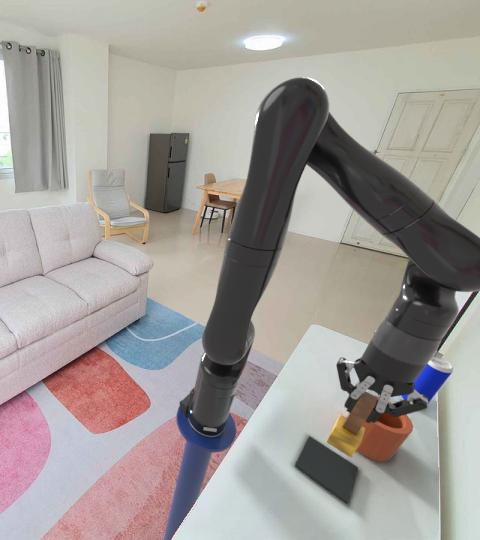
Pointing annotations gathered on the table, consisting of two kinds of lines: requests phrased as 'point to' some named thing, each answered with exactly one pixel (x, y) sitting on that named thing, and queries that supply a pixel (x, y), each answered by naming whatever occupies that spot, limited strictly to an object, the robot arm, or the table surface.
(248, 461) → the table surface
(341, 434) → the sponge brush
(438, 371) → the beverage can
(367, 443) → the jar
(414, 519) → the table surface
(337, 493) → the mat
